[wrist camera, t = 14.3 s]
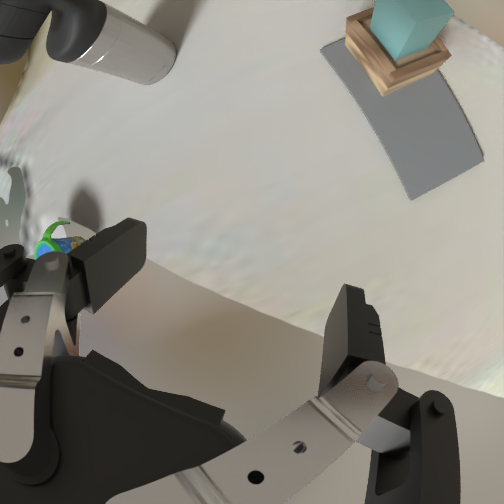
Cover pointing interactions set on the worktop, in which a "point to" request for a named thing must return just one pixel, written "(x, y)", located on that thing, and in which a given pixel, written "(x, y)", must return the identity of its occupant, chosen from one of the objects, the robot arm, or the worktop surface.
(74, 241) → the snack cup
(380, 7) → the teal brick
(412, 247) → the worktop surface
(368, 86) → the baseplate
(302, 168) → the worktop surface
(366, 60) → the wooden crate
